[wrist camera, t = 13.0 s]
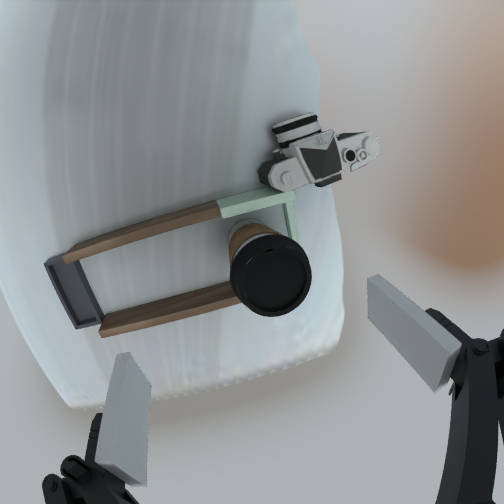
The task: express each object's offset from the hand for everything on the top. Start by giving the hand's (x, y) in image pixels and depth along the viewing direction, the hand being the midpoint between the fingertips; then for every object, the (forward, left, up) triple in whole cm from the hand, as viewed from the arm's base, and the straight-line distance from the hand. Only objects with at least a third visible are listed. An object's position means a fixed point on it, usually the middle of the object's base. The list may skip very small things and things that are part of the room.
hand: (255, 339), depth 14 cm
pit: (+4, -25, -27) cm, 36 cm away
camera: (-7, +15, -27) cm, 32 cm away
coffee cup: (+4, +4, -27) cm, 27 cm away
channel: (+4, -10, -27) cm, 29 cm away
